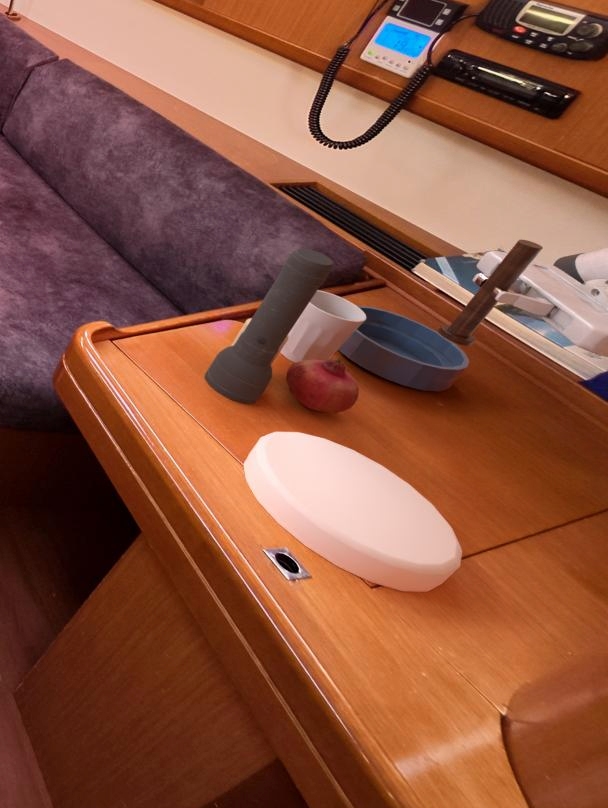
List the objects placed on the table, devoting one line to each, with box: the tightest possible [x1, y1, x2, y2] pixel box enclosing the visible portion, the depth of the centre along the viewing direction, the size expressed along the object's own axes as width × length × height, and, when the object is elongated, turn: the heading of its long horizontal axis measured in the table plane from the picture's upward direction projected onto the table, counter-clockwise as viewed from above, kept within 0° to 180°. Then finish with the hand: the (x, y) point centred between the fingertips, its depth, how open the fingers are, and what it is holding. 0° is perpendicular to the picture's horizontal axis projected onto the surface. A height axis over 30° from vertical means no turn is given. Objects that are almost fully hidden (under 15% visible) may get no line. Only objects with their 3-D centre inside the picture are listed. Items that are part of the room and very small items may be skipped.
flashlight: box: [204, 247, 334, 405], centre depth 99 cm, size 7×28×7 cm
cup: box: [279, 289, 366, 364], centre depth 110 cm, size 8×8×12 cm
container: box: [242, 431, 463, 593], centre depth 85 cm, size 20×20×5 cm
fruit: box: [285, 358, 360, 414], centre depth 101 cm, size 8×8×10 cm
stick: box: [437, 239, 544, 347], centre depth 94 cm, size 4×4×18 cm
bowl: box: [337, 305, 470, 392], centre depth 111 cm, size 15×15×6 cm
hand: (486, 286), depth 94 cm, fingers closed on stick, 2 cm apart
